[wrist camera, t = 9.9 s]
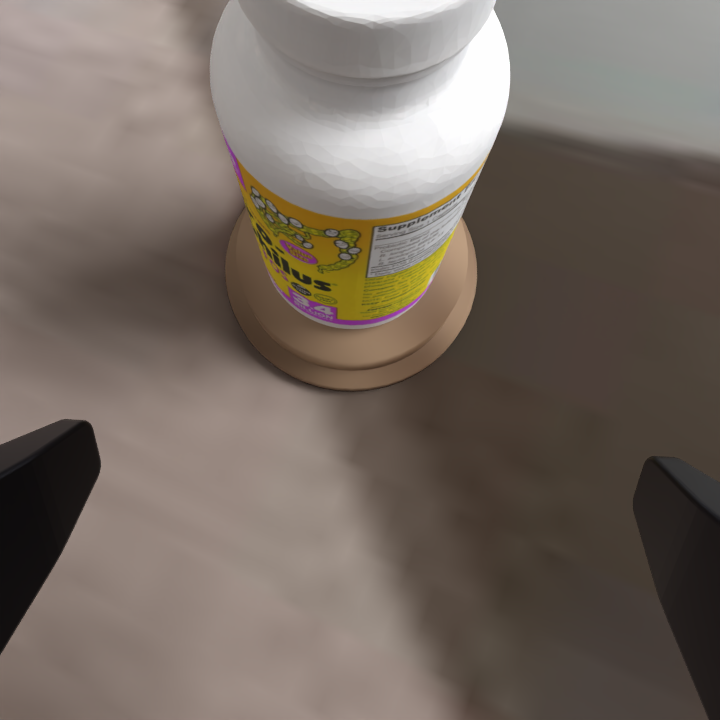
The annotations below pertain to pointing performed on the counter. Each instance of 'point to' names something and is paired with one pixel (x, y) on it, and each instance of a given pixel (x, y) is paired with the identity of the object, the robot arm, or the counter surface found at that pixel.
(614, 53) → the counter surface
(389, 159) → the supplement bottle
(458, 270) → the beige saucer
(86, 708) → the counter surface
